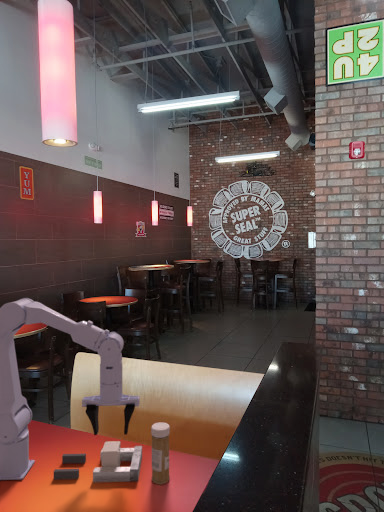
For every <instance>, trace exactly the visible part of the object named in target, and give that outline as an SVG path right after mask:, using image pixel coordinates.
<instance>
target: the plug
mask: <svg viewBox="0 0 384 512" xmlns="http://www.w3.org/2000/svg"><path fill="white" fill-rule="evenodd" d="M120 448H121V441H119V440H117V441H114V440H113V441H105V442H104V444H103V449H102V448H101V450H102V462H101V467H121V461H120Z"/></svg>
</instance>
